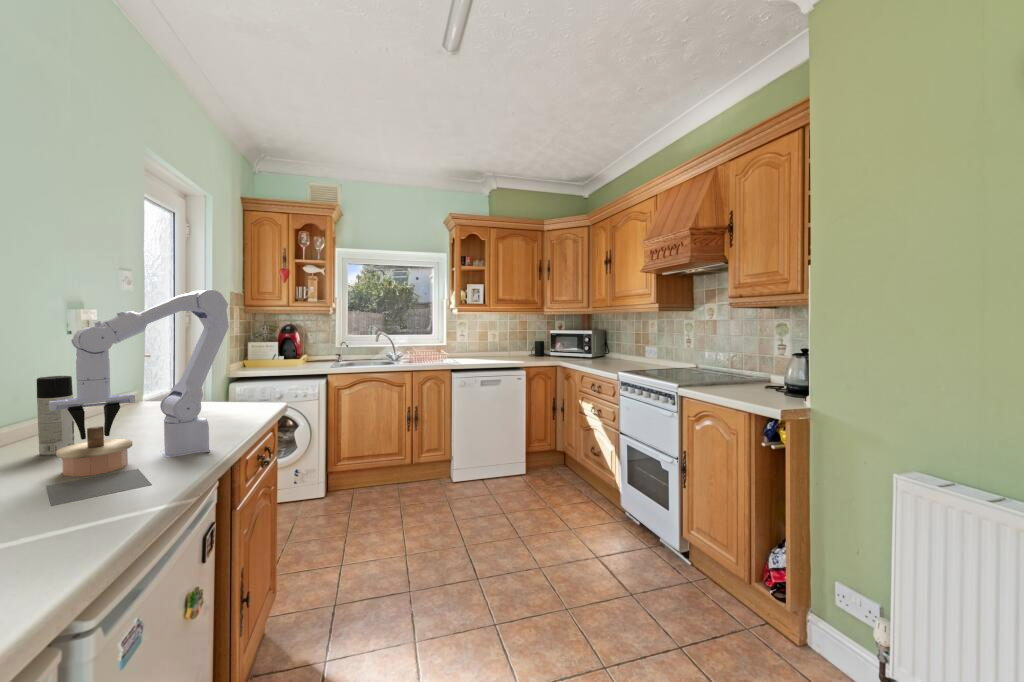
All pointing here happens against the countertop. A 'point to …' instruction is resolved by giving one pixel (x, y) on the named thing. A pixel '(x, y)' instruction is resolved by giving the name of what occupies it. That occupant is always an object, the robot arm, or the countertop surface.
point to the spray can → (54, 414)
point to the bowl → (94, 464)
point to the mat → (95, 486)
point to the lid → (94, 445)
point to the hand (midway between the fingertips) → (95, 437)
